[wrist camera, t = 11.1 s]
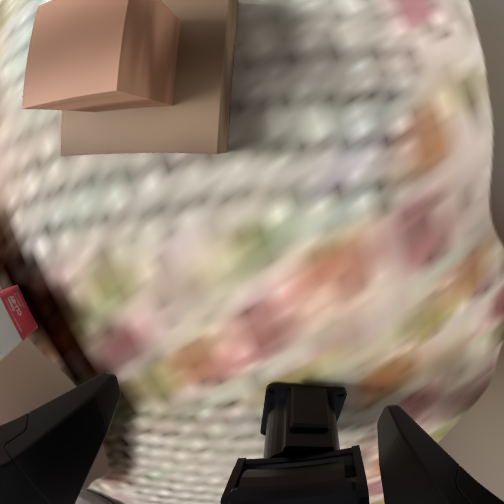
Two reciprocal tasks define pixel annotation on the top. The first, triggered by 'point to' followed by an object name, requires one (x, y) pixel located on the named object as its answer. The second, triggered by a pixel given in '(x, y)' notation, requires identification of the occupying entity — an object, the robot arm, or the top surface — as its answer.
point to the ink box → (14, 320)
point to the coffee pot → (91, 498)
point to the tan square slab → (185, 95)
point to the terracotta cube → (101, 55)
